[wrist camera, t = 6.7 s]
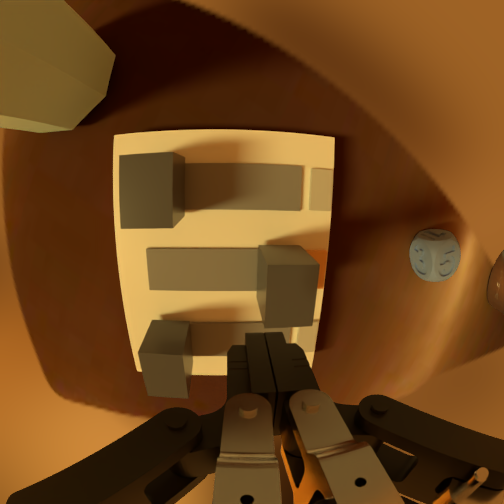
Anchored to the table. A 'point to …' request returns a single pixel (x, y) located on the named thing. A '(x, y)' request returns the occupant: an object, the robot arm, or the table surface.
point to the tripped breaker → (286, 286)
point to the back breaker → (167, 358)
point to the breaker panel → (224, 235)
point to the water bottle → (49, 66)
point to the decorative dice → (435, 254)
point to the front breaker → (151, 190)
